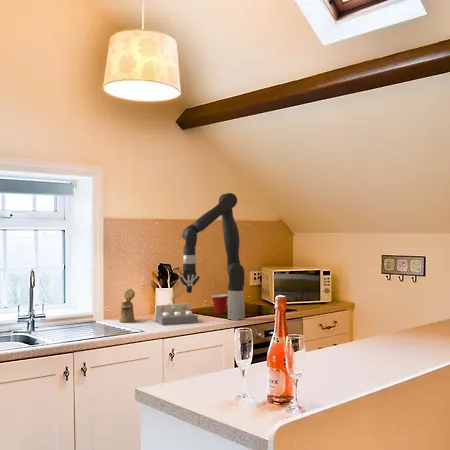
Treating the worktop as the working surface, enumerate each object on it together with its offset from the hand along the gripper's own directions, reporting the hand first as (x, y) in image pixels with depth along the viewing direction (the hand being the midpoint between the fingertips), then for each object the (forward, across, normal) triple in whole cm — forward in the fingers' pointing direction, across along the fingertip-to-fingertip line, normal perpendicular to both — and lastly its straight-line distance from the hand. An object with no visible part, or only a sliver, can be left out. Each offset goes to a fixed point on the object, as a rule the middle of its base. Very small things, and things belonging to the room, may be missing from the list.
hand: (189, 292), depth 327 cm
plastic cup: (+17, -30, -22) cm, 41 cm away
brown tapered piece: (+17, +31, -18) cm, 39 cm away
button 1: (+13, +14, 0) cm, 19 cm away
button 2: (+13, 0, 0) cm, 13 cm away
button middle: (+13, +7, 0) cm, 15 cm away
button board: (+17, +7, 0) cm, 18 cm away
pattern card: (+17, +7, -9) cm, 20 cm away
